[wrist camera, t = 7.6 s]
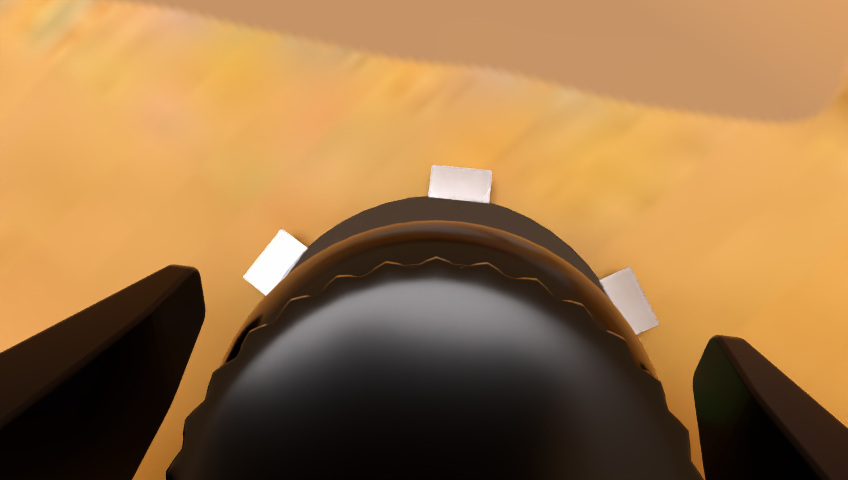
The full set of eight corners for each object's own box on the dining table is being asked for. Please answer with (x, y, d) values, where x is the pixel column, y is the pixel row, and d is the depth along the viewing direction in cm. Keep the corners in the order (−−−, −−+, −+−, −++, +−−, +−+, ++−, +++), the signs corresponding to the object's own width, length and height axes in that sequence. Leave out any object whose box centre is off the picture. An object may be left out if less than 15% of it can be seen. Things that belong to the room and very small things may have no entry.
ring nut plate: (731, 350, 18) (751, 350, 17) (497, 711, 17) (501, 738, 16) (389, 112, 20) (386, 97, 19) (146, 418, 18) (127, 422, 17)
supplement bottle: (571, 286, 17) (854, 187, 6) (550, 541, 16) (838, 1087, 5) (332, 259, 18) (113, 108, 6) (296, 508, 17) (-51, 938, 5)
